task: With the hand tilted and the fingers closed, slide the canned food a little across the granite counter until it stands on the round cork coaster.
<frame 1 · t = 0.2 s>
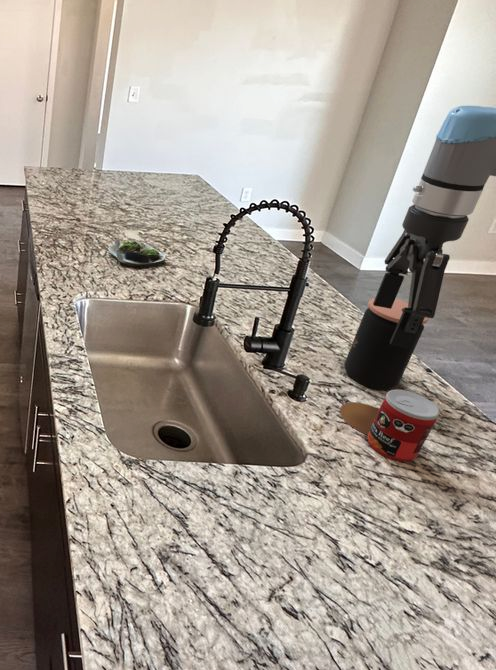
hand: (390, 324, 93), 26 cm above the countertop, tool pointing down, fingers open, 13 cm apart
cork coaster: (371, 420, 109), on the countertop
canned food: (390, 448, 102), on the countertop, touching cork coaster
salad plate: (135, 258, 179), on the countertop
coffee jar: (369, 377, 123), on the countertop
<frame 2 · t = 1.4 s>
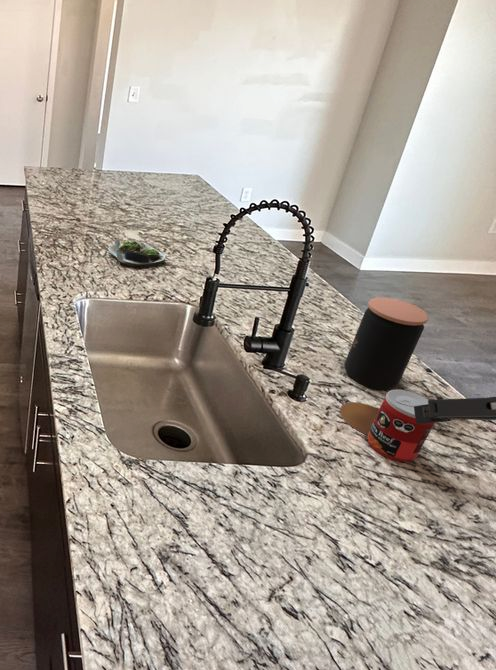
hand: (462, 420, 86), 16 cm above the countertop, tool tilted 45°, fingers open, 13 cm apart
nothing on the countertop moved.
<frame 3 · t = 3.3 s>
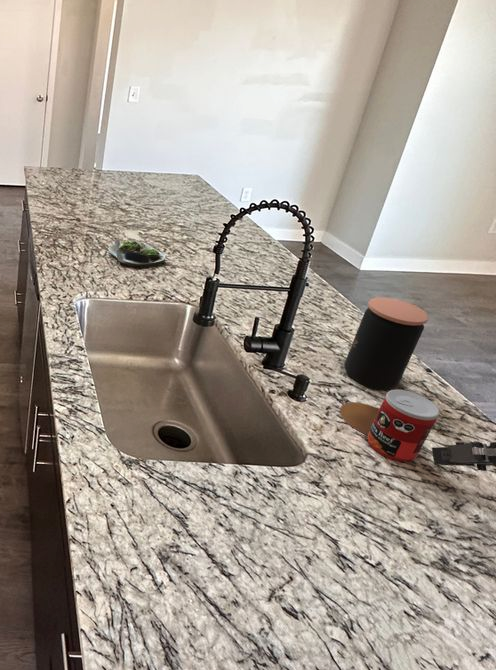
hand: (437, 456, 91), 7 cm above the countertop, tool tilted 45°, fingers closed
nothing on the countertop moved.
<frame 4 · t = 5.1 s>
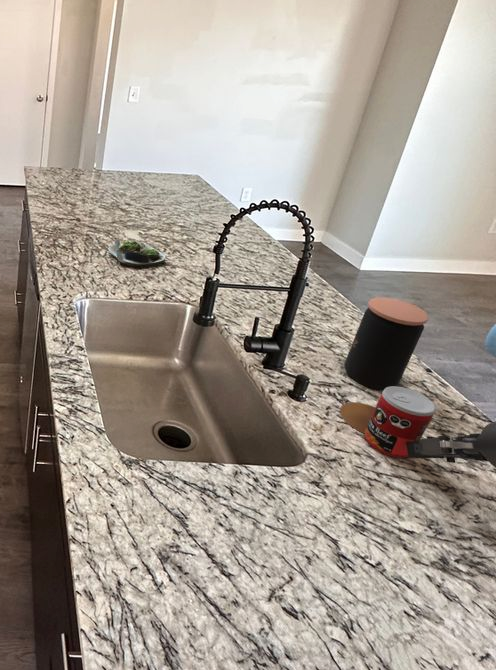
hand: (411, 450, 97), 4 cm above the countertop, tool tilted 45°, fingers closed
canned food: (387, 444, 103), on the countertop, touching gripper
everything else where it was.
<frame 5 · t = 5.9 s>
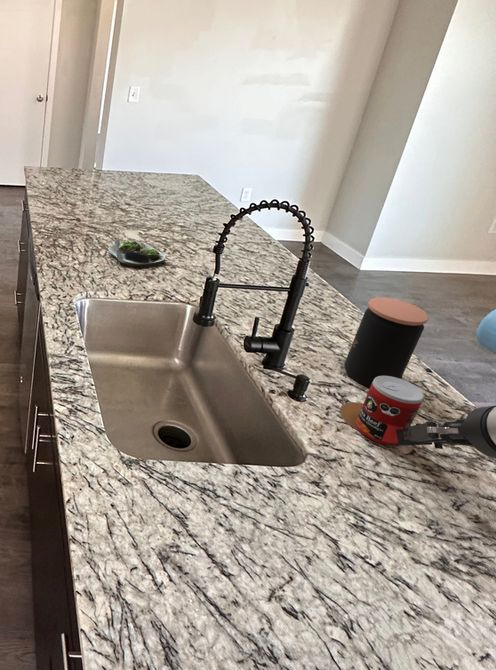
hand: (401, 437, 100), 4 cm above the countertop, tool tilted 45°, fingers closed
canned food: (377, 433, 106), on the countertop, touching gripper
everything else where it was.
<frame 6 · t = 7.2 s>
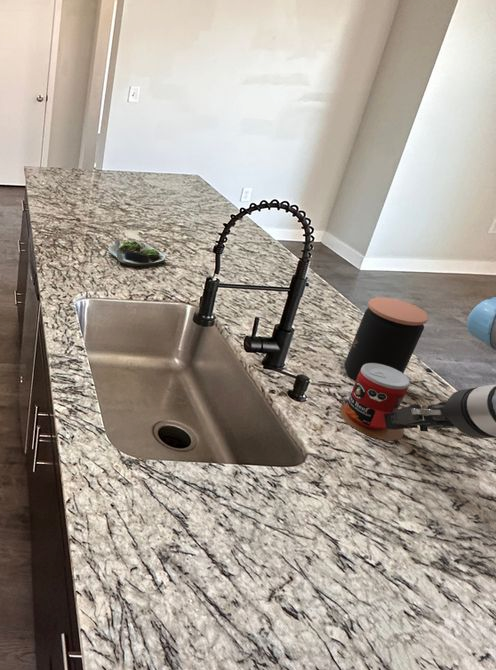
hand: (389, 421, 104), 4 cm above the countertop, tool tilted 45°, fingers closed
canned food: (366, 418, 110), resting on cork coaster, touching gripper
everything else where it was.
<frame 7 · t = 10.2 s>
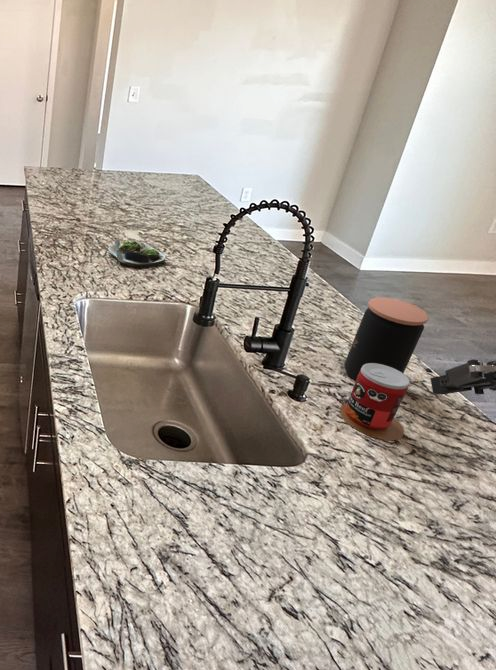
hand: (436, 386, 93), 17 cm above the countertop, tool tilted 45°, fingers closed
canned food: (366, 418, 110), resting on cork coaster
everything else where it was.
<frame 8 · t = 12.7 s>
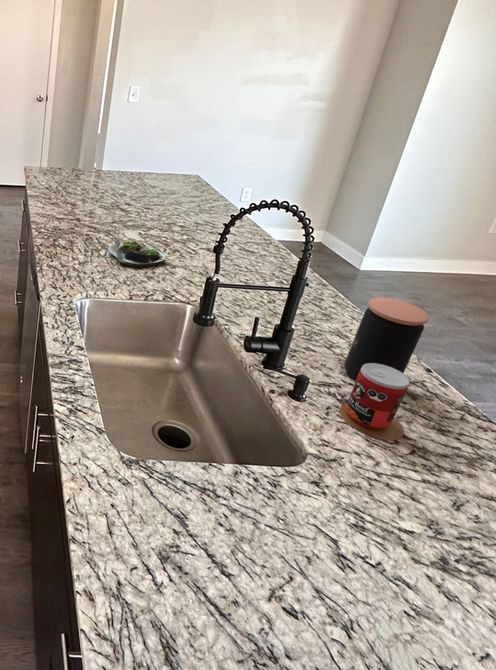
nothing on the countertop moved.
at the end: canned food 0.9 cm from the cork coaster (horizontally); canned food moved 8.3 cm from its start; canned food tilted 0° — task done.
